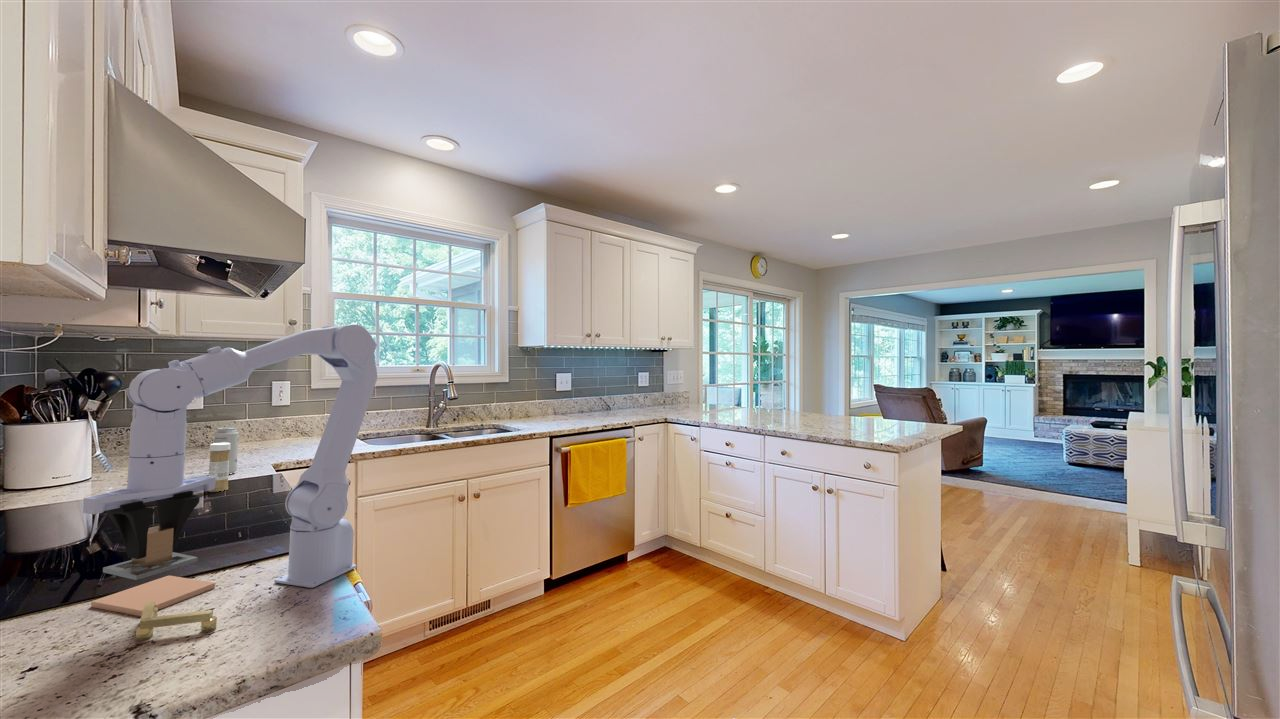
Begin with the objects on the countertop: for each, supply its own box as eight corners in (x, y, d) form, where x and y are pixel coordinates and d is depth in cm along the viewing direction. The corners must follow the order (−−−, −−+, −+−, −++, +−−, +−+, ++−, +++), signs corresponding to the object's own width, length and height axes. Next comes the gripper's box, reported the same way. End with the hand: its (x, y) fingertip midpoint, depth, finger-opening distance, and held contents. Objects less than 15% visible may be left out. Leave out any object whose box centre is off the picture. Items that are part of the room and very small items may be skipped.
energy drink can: (240, 473, 166) (242, 428, 166) (219, 476, 160) (221, 429, 160) (229, 471, 168) (232, 426, 168) (208, 474, 163) (211, 428, 163)
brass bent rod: (154, 615, 72) (155, 598, 72) (219, 627, 69) (220, 610, 69) (105, 634, 67) (107, 616, 67) (174, 648, 64) (175, 629, 64)
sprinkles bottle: (226, 488, 146) (229, 441, 147) (229, 490, 143) (232, 443, 143) (206, 490, 143) (208, 442, 143) (208, 493, 140) (211, 444, 140)
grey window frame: (165, 554, 74) (167, 520, 74) (197, 561, 72) (199, 525, 72) (102, 572, 68) (104, 533, 68) (136, 580, 65) (138, 540, 66)
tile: (168, 580, 84) (168, 575, 84) (214, 587, 81) (215, 582, 82) (91, 606, 74) (91, 601, 74) (141, 616, 72) (141, 610, 72)
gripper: (192, 445, 78) (187, 533, 78) (68, 461, 64) (61, 568, 64) (228, 448, 77) (223, 538, 76) (108, 465, 62) (102, 575, 62)
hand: (152, 552), depth 70 cm, fingers closed on grey window frame, 3 cm apart
